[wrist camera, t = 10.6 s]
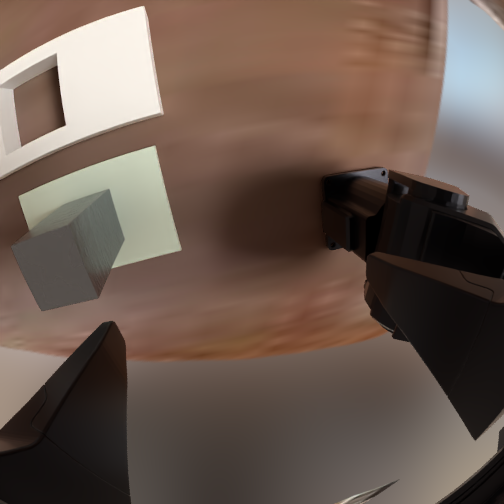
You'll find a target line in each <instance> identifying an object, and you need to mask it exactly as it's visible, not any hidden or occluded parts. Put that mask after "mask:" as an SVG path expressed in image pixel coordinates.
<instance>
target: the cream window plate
mask: <svg viewBox="0 0 504 504" xmlns="http://www.w3.org/2000/svg"><path fill="white" fill-rule="evenodd" d="M57 65H58V73H59V82H60V90H61V97H62V104H63V110H64V116H65V121H66V126H63V127H61V128H59V129H57V130H55V131H52V132H50V133H48V134H46V135H44V136H42V137H40V138H38V139H36V140H34V141H32V142H30V143H28V144H26V145H24V146H22V147H21V142H20V137H19V131H18V125H17V118H16V111H15V103H14V94H13V89H15V88H17V87H18V86H20V85H22V84H23V83H25V82H27V81H29V80H30V79H32V78H34V77H36V76H38V75H40V74H42V73H43V72H45V71H47V70H49V69H51V68H53V67H55V66H57ZM162 115H164V114H163V109H162V103H161V98H160V93H159V87H158V81H157V75H156V70H155V63H154V57H153V51H152V44H151V37H150V30H149V22H148V17H147V14H146V11H145V8H144V6H142V7H138V8H134V9H131V10H128V11H124V12H121V13H118V14H115V15H112V16H109V17H106V18H103V19H100V20H98V21H95V22H92V23H90V24H87V25H85V26H82V27H80V28H77V29H75V30H73V31H71V32H68V33H66V34H64V35H62V36H60V37H58V38H56V39H54V40H52V41H50V42H48V43H46V44H44V45H42V46H40V47H38V48H36V49H34V50H33V51H31V52H29V53H27V54H26V55H24V56H22V57H21V58H19V59H17V60H16V61H14V62H13V63H11V64H9V65H8V66H6V67H5V68H3V69H2V70H0V180H1V179H3V178H5V177H7V176H8V175H10V174H12V173H14V172H16V171H18V170H20V169H22V168H23V167H25V166H27V165H29V164H31V163H33V162H36V161H38V160H40V159H42V158H44V157H46V156H48V155H51V154H53V153H55V152H57V151H60V150H62V149H64V148H67V147H69V146H71V145H74V144H76V143H79V142H81V141H84V140H87V139H89V138H92V137H95V136H97V135H100V134H103V133H106V132H109V131H112V130H115V129H118V128H121V127H124V126H127V125H130V124H133V123H137V122H140V121H144V120H147V119H151V118H154V117H158V116H162Z"/></svg>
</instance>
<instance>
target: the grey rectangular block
mask: <svg viewBox="0 0 504 504" xmlns="http://www.w3.org/2000/svg"><path fill="white" fill-rule="evenodd" d="M124 240H125V238H124V235H123V232H122V229H121V226H120V223H119V220H118V216H117V213H116V210H115V206H114V203H113V200H112V196H111V192H110V189H107V190H103V191H100V192H97V193H94V194H91V195H88V196H85V197H83V198H80V199H77V200H74V201H71V202H69V203H66V204H63V205H62V206H61V207H59V208H58V209H57V210H55V211H54V212H53V213H51V214H50V215H49V216H47V217H46V218H45V219H43V220H42V221H41V222H39V223H38V224H37V225H36V226H34V227H33V228H32V229H31V230H29V231H28V232H27V233H26V234H25V235H23V236H22V237H21V238H20V239H19V240H17V241H16V242H15V243H14V244H13V245H12V246H11V248H12V250H13V253H14V255H15V258H16V260H17V262H18V265H19V267H20V269H21V271H22V274H23V276H24V278H25V280H26V282H27V284H28V286H29V288H30V290H31V292H32V294H33V296H34V298H35V300H36V302H37V304H38V306H39V308H40V309H41V311H45V310H50V309H54V308H58V307H63V306H67V305H71V304H76V303H80V302H84V301H89V300H93V299H97V298H99V296H100V294H101V291H102V289H103V286H104V284H105V282H106V279H107V277H108V275H109V273H110V270H111V268H112V266H113V264H114V261H115V259H116V257H117V255H118V253H119V251H120V249H121V247H122V244H123V242H124Z"/></svg>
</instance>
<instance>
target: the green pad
mask: <svg viewBox="0 0 504 504" xmlns="http://www.w3.org/2000/svg"><path fill="white" fill-rule="evenodd" d="M107 189H110V192H111V196H112V200H113V203H114V206H115V210H116V213H117V216H118V220H119V223H120V226H121V229H122V232H123V235H124V238H125V240H124V242H123V244H122V247H121V249H120V251H119V253H118V255H117V257H116V259H115V261H114V264H113V266H112V268H115V267H119V266H123V265H126V264H130V263H134V262H138V261H142V260H146V259H149V258H153V257H157V256H161V255H165V254H169V253H173V252H177V251H181V244H180V241H179V237H178V234H177V230H176V227H175V223H174V219H173V216H172V212H171V208H170V204H169V200H168V196H167V192H166V188H165V184H164V180H163V176H162V172H161V168H160V163H159V159H158V155H157V150H156V146H151V147H148V148H144V149H141V150H138V151H134V152H131V153H128V154H124V155H121V156H118V157H115V158H112V159H109V160H106V161H103V162H100V163H97V164H95V165H92V166H89V167H86V168H84V169H81V170H78V171H76V172H73V173H71V174H68V175H66V176H63V177H61V178H58V179H56V180H53V181H51V182H49V183H46V184H44V185H42V186H40V187H37V188H35V189H33V190H31V191H29V192H26V193H24V194H22V195H20V196H18V197H19V200H20V204H21V207H22V210H23V213H24V216H25V219H26V222H27V225H28V227H29V230H31V229H32V228H33V227H34V226H36V225H37V224H38V223H39V222H41V221H42V220H43V219H45V218H46V217H47V216H49V215H50V214H51V213H53V212H54V211H55V210H57V209H58V208H59V207H61V206H62V205H63V204H66V203H69V202H71V201H74V200H77V199H80V198H83V197H85V196H88V195H91V194H94V193H97V192H100V191H103V190H107Z"/></svg>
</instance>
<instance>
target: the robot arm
mask: <svg viewBox="0 0 504 504" xmlns="http://www.w3.org/2000/svg"><path fill="white" fill-rule="evenodd" d="M382 171H383V174H382V175H381V172H382ZM388 178H389V182H388ZM328 179H329V180H330V183H329V184H327V180H328ZM322 192H323V202H322V204H321V207H322V220H323V232H324V233H326V246H327V247H328V248H329V249H330V250H336V249H339V248H344V249H345V250H347V251H348V252H351V251H353V252H354V253H355V254H356V255H357V256H359V257H360V258H361V259H362V260H364V261H365V262H366V278H367V280H365V284H364V289H365V290H364V298H365V301H366V303H367V304H368V306H369V308H370V309H371V311H370V315H371V316H372V318H373V319H374V320H376V321H377V322H378V323H379V324H380V325H381V326H382V327H383V328H385V329H386V330H387V331H389V332H391V333H393V334H392V337H393V338H394V339H397V340H402V341H407V342H410V343H411V345H412V346H413V347H414V349H415V350H416V351H417V353H418V354H419V356H420V357H421V358H422V360H423V361H424V363H425V364H426V365H427V367H428V368H429V370H430V371H431V373H432V374H433V376H434V377H435V378H436V380H437V381H438V383H439V384H440V386H441V388H442V389H443V391H444V392H445V394H446V395H447V396H448V399H449V400H450V402H451V403H452V405H453V406H454V408H455V409H456V411H457V413H458V414H459V416H460V417H461V419H462V421H463V422H464V424H465V426H466V427H467V429H468V431H469V432H470V434H471V436H472V437H473V438H474V440H477V439H478V438H479V437H480V436H481V435H482V434H484V433H485V432H486V431H487V430H488V429H489V428H490V427H491V426H492V425H493V424H494V423H495V422H496V421H497V420H498V419H499V418H500V417H501V416H502V415H503V414H504V232H503V231H502V230H501V228H500V227H499V225H498V224H497V223H496V221H495V220H494V219H493V218H492V216H491V215H490V214H488V213H487V212H484V211H482V210H479V209H477V208H474V207H472V206H469V205H468V200H469V195H468V194H466V193H465V192H464V191H462V190H460V189H459V188H458V187H456V186H453V185H450V184H447V183H444V182H441V181H438V180H434V179H431V178H427V177H423V176H418V175H413V174H409V173H404V172H399V171H394V170H389V173H388V172H387V169H385V168H383V167H378V168H371V169H364V170H357V171H350V172H344V173H338V174H332V175H326V176H324V177H323V178H322ZM333 242H334V244H333V245H332V246H331V243H333ZM129 495H130V489H129V477H128V460H127V366H126V345H125V340H124V338H123V336H122V334H121V333H120V331H119V329H118V327H117V325H116V323H115V322H113V321H109V322H104V323H102V324H101V325H100V326H99V327H98V328H97V329H96V330H95V331H94V332H93V333H92V334H91V335H90V336H89V337H88V338H87V339H86V340H85V341H84V342H83V343H82V344H81V345H80V346H79V347H78V348H77V349H76V350H75V352H74V353H73V354H72V355H71V356H70V357H69V358H68V359H67V360H66V361H65V362H64V363H63V364H62V365H61V366H60V367H59V368H58V370H57V371H56V372H55V373H54V374H53V375H52V376H51V377H50V378H49V379H48V380H47V382H46V383H45V385H43V386H42V387H41V388H40V389H39V391H38V392H37V393H36V394H35V395H34V396H33V397H32V398H31V399H30V400H29V401H28V402H27V403H26V404H25V406H23V407H22V408H21V410H20V411H18V412H17V413H16V414H15V415H14V416H13V417H12V419H10V420H9V422H7V423H6V424H5V425H4V427H3V428H2V429H1V430H0V504H131V498H130V496H129ZM436 504H504V427H503V428H502V429H501V430H500V432H499V441H498V450H497V453H496V454H495V455H494V456H493V457H492V458H491V459H490V460H489V461H488V462H487V463H486V464H485V465H484V466H482V467H481V468H480V469H479V470H478V471H477V472H476V473H474V474H473V475H472V476H471V477H470V478H469V479H467V480H466V481H465V482H464V483H462V484H461V485H460V486H459V487H458V488H456V489H455V490H454V491H452V492H451V493H450V494H448V495H447V496H445V497H444V498H443V499H441V500H440V501H438V502H437V503H436Z"/></svg>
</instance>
